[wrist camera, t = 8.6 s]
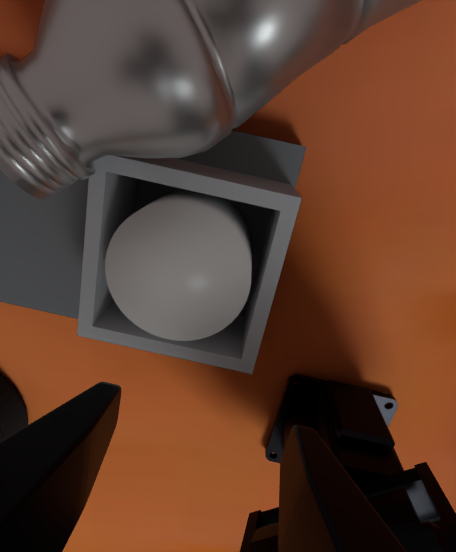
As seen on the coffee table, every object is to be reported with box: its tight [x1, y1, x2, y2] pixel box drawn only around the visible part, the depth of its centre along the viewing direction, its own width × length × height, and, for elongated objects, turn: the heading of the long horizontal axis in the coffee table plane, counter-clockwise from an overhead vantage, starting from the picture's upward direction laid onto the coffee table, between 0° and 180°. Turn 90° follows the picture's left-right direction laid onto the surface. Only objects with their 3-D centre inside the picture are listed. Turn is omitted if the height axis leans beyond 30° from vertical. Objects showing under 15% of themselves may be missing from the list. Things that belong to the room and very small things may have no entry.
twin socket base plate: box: [0, 130, 306, 374], centre depth 17 cm, size 11×24×6 cm, turn 78°
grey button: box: [105, 189, 252, 341], centre depth 16 cm, size 6×6×4 cm
